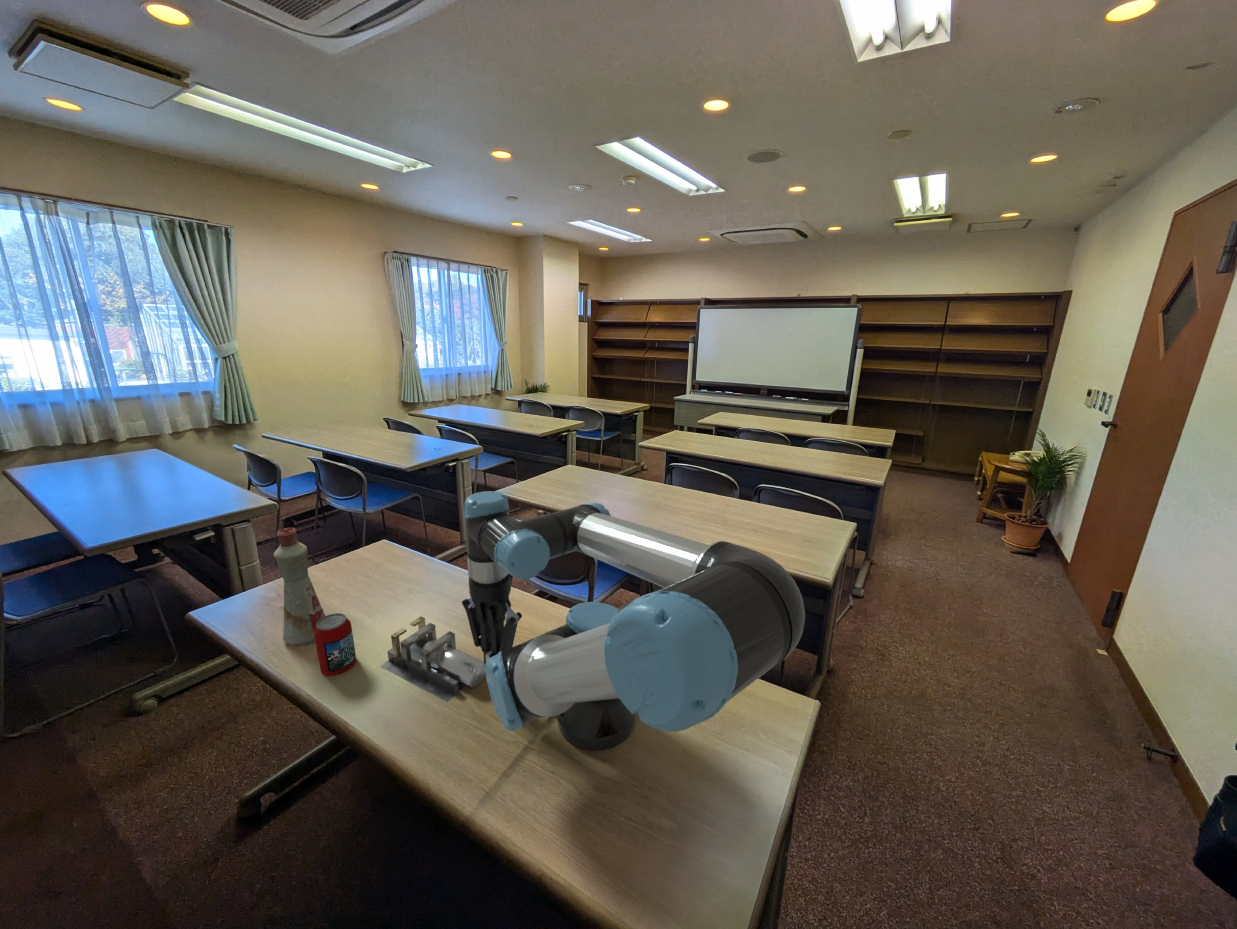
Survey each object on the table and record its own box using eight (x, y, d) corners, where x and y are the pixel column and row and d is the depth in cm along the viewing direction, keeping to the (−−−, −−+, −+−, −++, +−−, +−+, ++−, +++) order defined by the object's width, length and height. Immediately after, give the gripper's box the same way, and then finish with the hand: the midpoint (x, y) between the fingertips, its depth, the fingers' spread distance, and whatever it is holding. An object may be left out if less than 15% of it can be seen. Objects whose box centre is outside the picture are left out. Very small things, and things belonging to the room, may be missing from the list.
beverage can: (340, 682, 96) (332, 633, 93) (313, 676, 98) (304, 627, 94) (364, 660, 103) (357, 613, 99) (337, 655, 104) (330, 609, 101)
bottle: (281, 634, 110) (259, 526, 102) (325, 620, 116) (307, 516, 108) (286, 653, 104) (264, 539, 96) (332, 637, 110) (315, 528, 102)
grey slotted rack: (489, 668, 102) (488, 636, 99) (447, 705, 91) (444, 671, 89) (425, 639, 110) (422, 609, 108) (380, 670, 100) (376, 637, 98)
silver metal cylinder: (485, 679, 98) (486, 657, 97) (467, 692, 93) (468, 669, 92) (437, 656, 104) (438, 636, 103) (419, 667, 99) (419, 646, 98)
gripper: (530, 574, 86) (532, 678, 93) (477, 556, 92) (483, 656, 98) (503, 593, 80) (507, 704, 86) (448, 573, 85) (456, 679, 92)
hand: (494, 678), depth 92 cm, fingers closed
